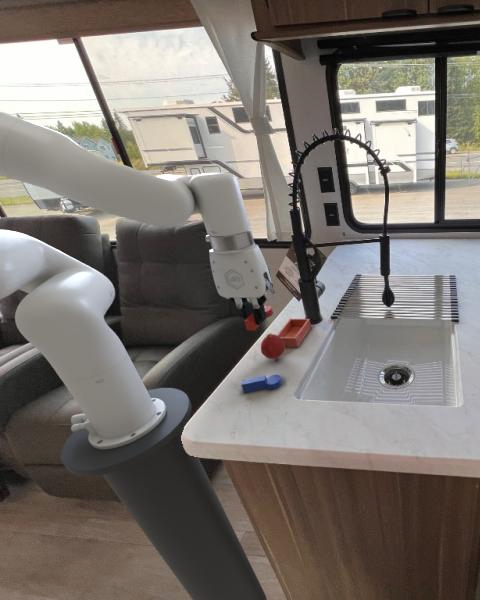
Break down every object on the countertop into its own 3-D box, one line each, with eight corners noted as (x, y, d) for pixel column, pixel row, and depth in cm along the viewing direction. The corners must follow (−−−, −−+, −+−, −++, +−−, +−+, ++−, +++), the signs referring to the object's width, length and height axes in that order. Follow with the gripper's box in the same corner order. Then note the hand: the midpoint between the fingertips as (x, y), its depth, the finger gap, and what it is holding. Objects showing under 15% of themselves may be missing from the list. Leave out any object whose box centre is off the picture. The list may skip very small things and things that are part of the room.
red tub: (297, 347, 86) (295, 338, 85) (276, 346, 87) (274, 337, 85) (311, 327, 96) (309, 318, 94) (291, 326, 96) (290, 318, 95)
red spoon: (258, 330, 67) (255, 321, 66) (243, 330, 67) (240, 321, 66) (276, 310, 74) (273, 302, 73) (262, 310, 74) (259, 301, 73)
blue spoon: (243, 395, 70) (240, 387, 69) (245, 385, 73) (243, 377, 72) (281, 387, 72) (279, 379, 71) (282, 378, 75) (280, 370, 74)
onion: (264, 354, 84) (257, 329, 80) (287, 350, 85) (281, 325, 82) (263, 367, 79) (256, 341, 75) (287, 362, 80) (281, 336, 77)
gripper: (182, 247, 58) (213, 329, 67) (260, 246, 56) (282, 331, 65) (208, 236, 65) (234, 312, 73) (279, 235, 63) (297, 314, 71)
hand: (256, 321), depth 69 cm, fingers closed on red spoon, 1 cm apart
